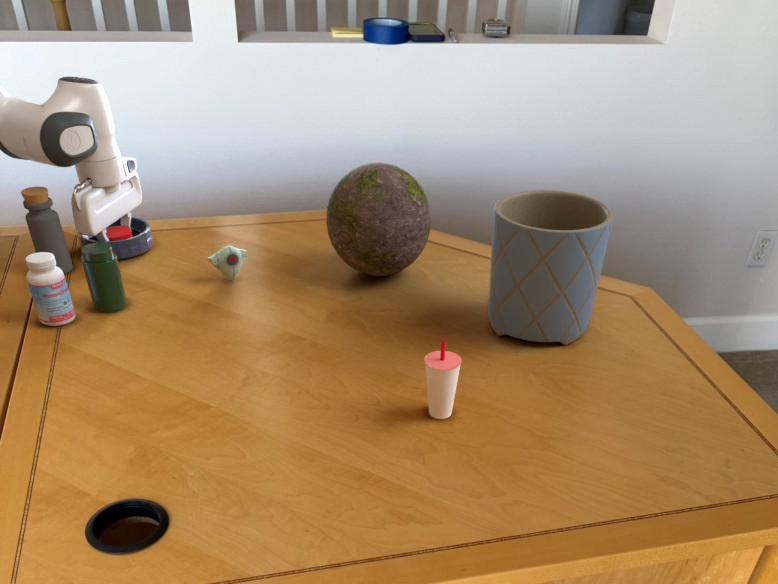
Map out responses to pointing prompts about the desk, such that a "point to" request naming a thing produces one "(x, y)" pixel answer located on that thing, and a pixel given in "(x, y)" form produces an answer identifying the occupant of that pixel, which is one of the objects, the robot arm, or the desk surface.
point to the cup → (441, 381)
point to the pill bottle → (49, 290)
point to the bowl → (127, 246)
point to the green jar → (103, 278)
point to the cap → (118, 233)
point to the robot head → (228, 261)
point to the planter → (546, 264)
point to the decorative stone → (378, 219)
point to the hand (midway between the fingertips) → (117, 241)
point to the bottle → (45, 226)
